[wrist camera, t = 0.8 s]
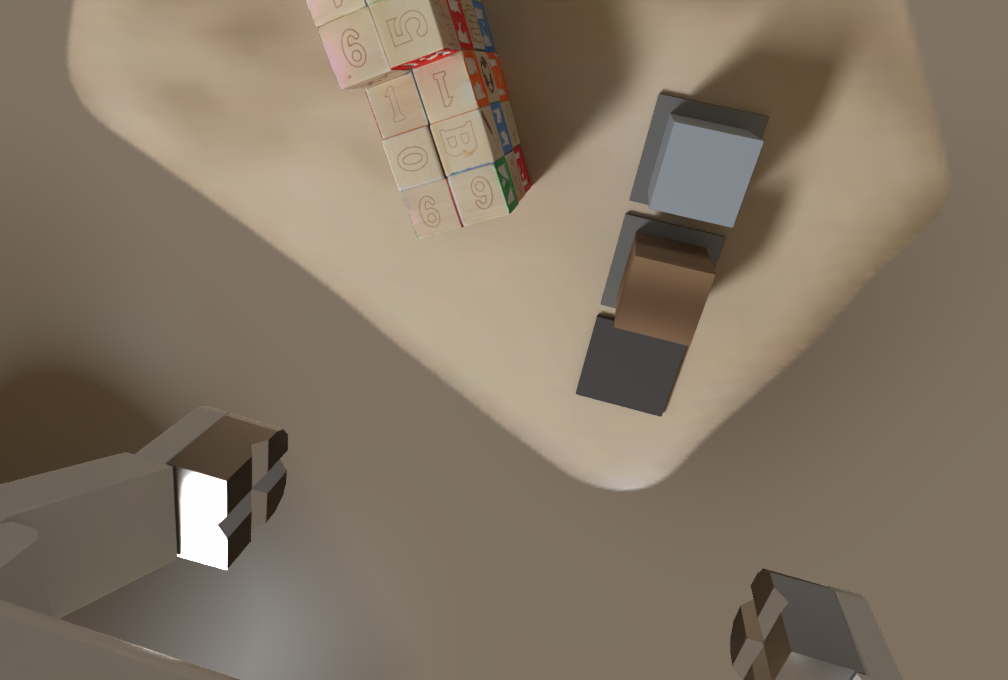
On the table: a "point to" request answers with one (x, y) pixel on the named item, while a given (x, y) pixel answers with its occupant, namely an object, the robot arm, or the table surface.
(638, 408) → the rubber mat
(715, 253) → the code tile
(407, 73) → the stack of blocks
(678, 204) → the slate-blue block
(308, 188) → the table surface
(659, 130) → the code tile
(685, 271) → the walnut block
